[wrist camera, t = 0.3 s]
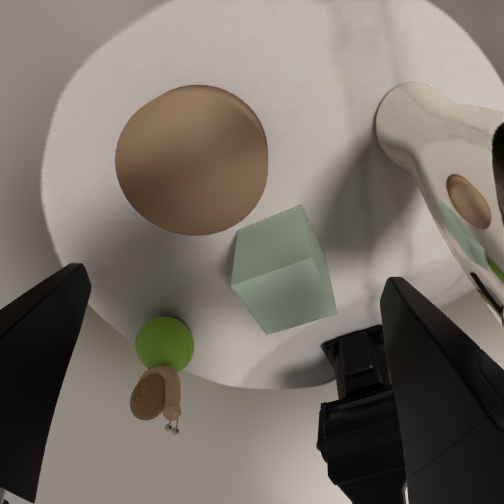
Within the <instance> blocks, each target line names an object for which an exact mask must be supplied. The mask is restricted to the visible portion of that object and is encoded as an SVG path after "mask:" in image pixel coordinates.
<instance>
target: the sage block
mask: <svg viewBox="0 0 504 504" xmlns="http://www.w3.org/2000/svg"><path fill="white" fill-rule="evenodd" d="M231 288H232V289H233V290H234V292H235V293H236V294H237V296H238V297H239V298H240V300H241V301H242V303H243V304H244V305H245V307H246V308H247V309H248V311H249V312H250V313H251V315H252V316H253V317H254V319H255V320H256V321H257V323H258V324H259V325H260V327H261V328H262V329H263V331H264V332H265V333H266V335H268V334H271V333H275V332H278V331H282V330H285V329H288V328H292V327H295V326H298V325H302V324H305V323H308V322H311V321H315V320H318V319H321V318H324V317H327V316H330V315H333V314H336V313H337V309H336V304H335V299H334V294H333V289H332V285H331V280H330V275H329V271H328V266H327V262H326V257H325V255H324V252H323V250H322V248H321V246H320V243H319V241H318V239H317V237H316V234H315V232H314V230H313V228H312V226H311V224H310V221H309V219H308V217H307V215H306V213H305V211H304V209H303V206H302V204H301V205H299V206H296V207H294V208H291V209H289V210H286V211H284V212H281V213H279V214H276V215H274V216H271V217H269V218H266V219H264V220H261V221H259V222H256V223H254V224H251V225H249V226H247V227H244V228H242V229H239V230H238V232H237V239H236V247H235V254H234V262H233V270H232V278H231Z"/></svg>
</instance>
